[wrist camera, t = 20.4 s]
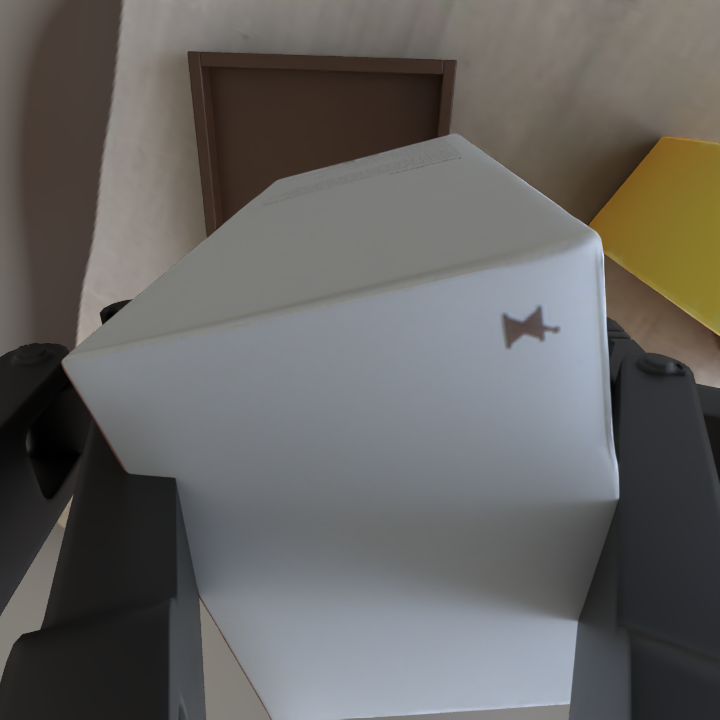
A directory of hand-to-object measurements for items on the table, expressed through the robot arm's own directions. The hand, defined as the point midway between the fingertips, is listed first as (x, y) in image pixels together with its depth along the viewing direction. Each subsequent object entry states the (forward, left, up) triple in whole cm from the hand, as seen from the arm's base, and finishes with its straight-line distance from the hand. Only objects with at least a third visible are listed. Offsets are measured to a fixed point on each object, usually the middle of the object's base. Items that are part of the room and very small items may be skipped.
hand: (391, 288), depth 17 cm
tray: (+4, +3, -19) cm, 19 cm away
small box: (0, 0, -2) cm, 2 cm away
